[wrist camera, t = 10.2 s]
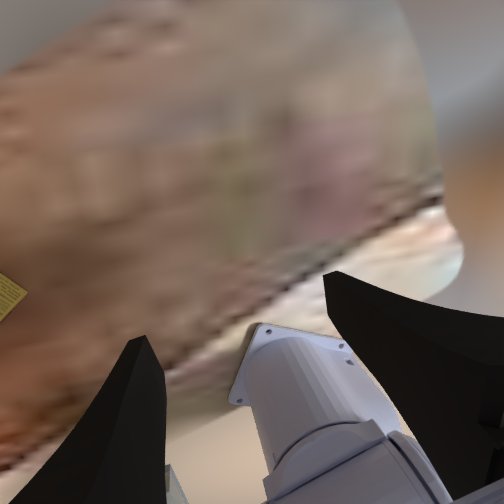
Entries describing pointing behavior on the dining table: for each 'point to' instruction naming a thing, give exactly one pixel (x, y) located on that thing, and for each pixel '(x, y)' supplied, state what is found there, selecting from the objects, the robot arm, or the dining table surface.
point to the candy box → (9, 296)
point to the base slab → (173, 488)
